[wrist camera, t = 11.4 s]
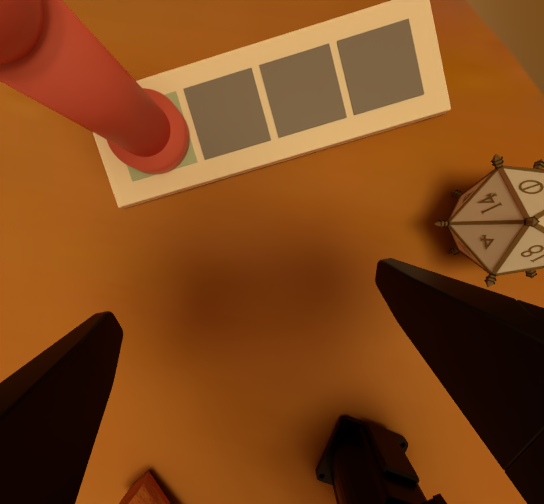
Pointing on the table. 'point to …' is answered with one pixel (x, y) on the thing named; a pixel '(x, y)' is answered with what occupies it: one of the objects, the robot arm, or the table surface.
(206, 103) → the board
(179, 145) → the pawn
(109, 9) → the table surface
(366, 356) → the table surface
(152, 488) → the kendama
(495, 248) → the game die
